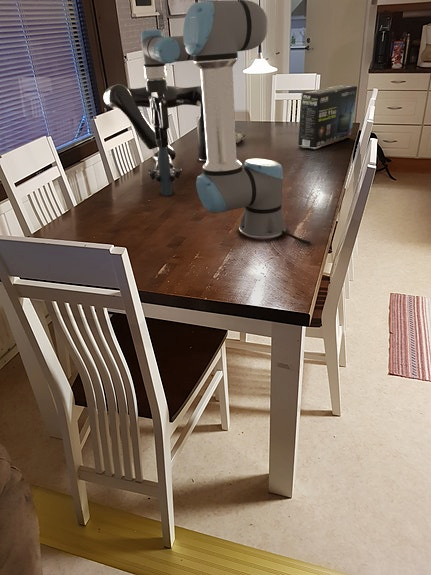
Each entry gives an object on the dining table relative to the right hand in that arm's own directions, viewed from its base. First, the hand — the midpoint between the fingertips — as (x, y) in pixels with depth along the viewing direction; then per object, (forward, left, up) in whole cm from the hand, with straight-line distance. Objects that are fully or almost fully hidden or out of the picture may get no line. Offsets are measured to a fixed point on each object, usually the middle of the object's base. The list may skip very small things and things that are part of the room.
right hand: (162, 145), depth 175 cm
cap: (0, 0, +2) cm, 2 cm away
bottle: (0, 0, -19) cm, 19 cm away
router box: (-32, -101, -19) cm, 108 cm away
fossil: (+17, -84, -19) cm, 88 cm away
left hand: (-2, +2, -12) cm, 13 cm away
